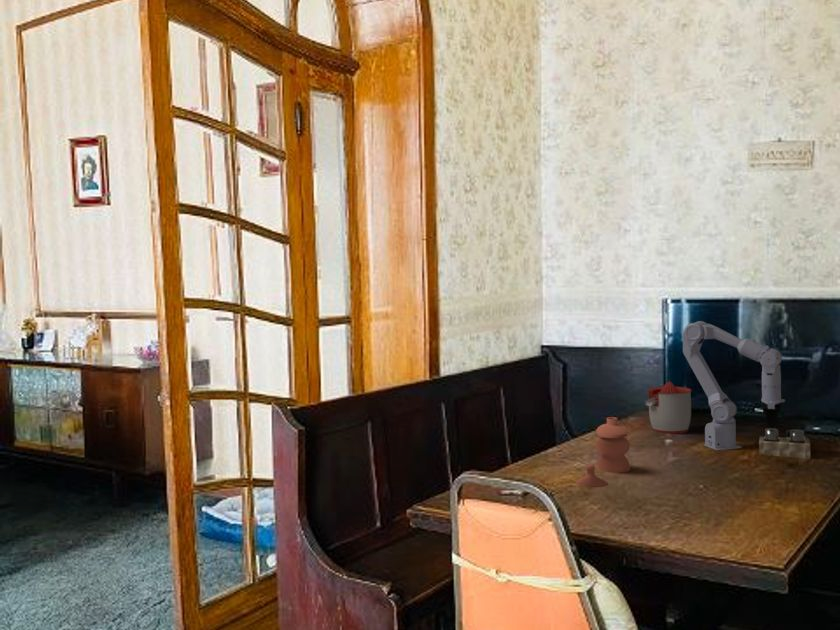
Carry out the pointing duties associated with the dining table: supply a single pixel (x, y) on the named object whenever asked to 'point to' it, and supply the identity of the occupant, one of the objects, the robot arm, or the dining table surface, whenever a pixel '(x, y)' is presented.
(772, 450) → the press block
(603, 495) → the dining table surface
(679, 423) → the citrus juicer
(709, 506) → the dining table surface
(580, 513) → the dining table surface
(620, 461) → the ceramic vessels
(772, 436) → the steel peg
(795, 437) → the steel peg
